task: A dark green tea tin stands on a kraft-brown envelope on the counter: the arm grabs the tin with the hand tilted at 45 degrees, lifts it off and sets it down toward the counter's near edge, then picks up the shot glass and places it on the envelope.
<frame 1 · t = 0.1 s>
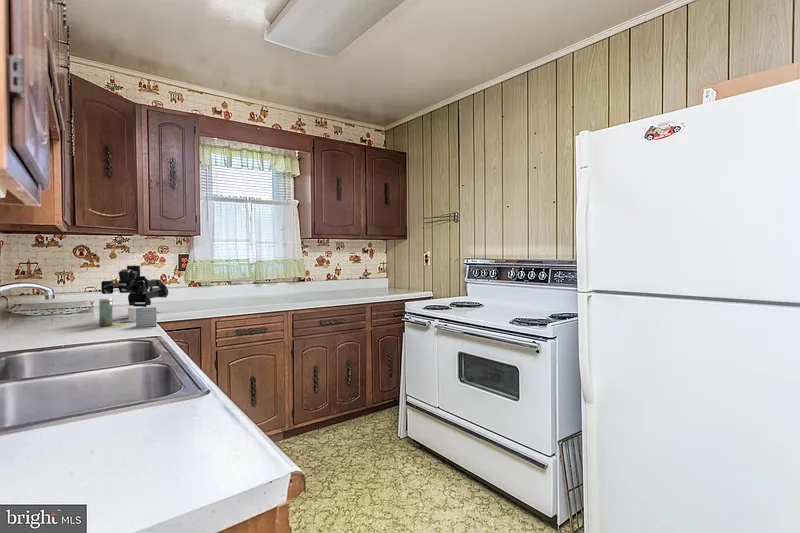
hand: (114, 288, 197), 17 cm above the counter, tool horizontal, fingers open, 9 cm apart
kraft envelope: (113, 326, 192), on the counter
tea tin: (105, 326, 190), resting on kraft envelope
medicine box: (146, 326, 192), on the counter
shot glass: (136, 321, 207), on the counter
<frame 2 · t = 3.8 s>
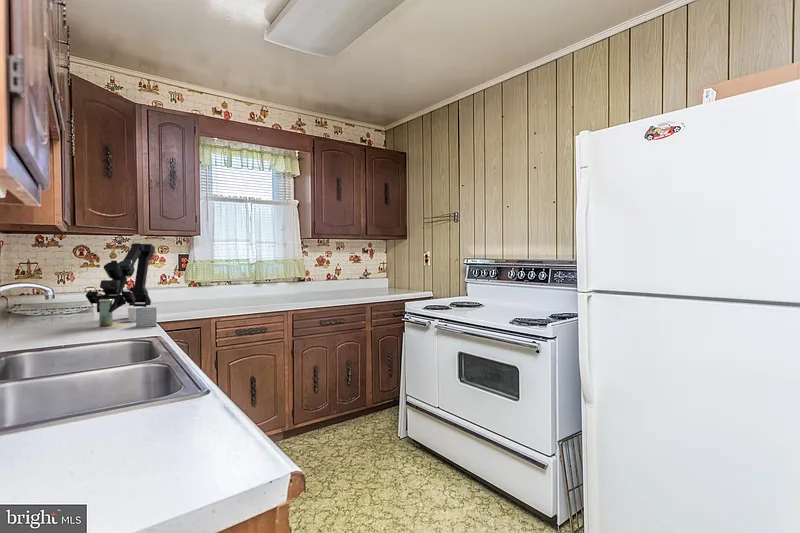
hand: (104, 311, 188), 7 cm above the counter, tool tilted 45°, fingers closed on tea tin, 5 cm apart
tea tin: (105, 326, 190), resting on kraft envelope, touching gripper
everything else where it was.
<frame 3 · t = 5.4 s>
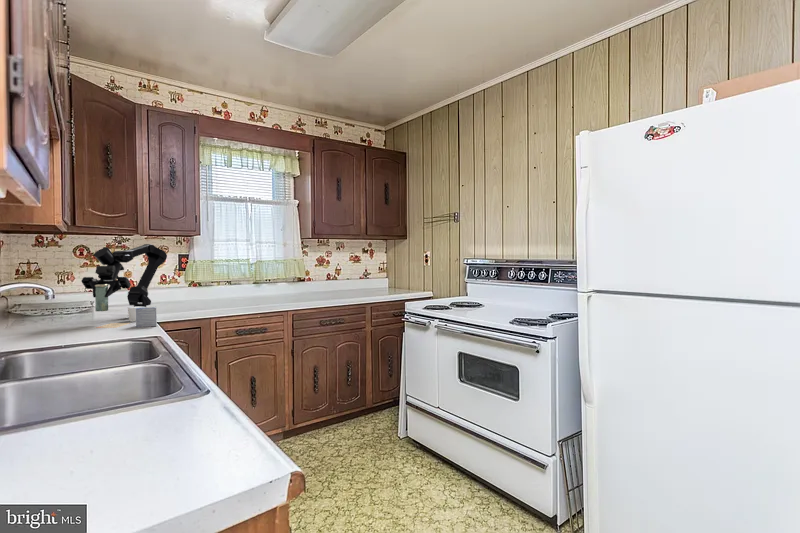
hand: (100, 296, 193), 13 cm above the counter, tool tilted 45°, fingers closed on tea tin, 5 cm apart
tea tin: (101, 310, 194), point 7 cm above the counter, touching gripper
everything else where it was.
when the fingers open (8 cm above the counter, at t = 7.5 s): tea tin drops 1 cm, on the counter.
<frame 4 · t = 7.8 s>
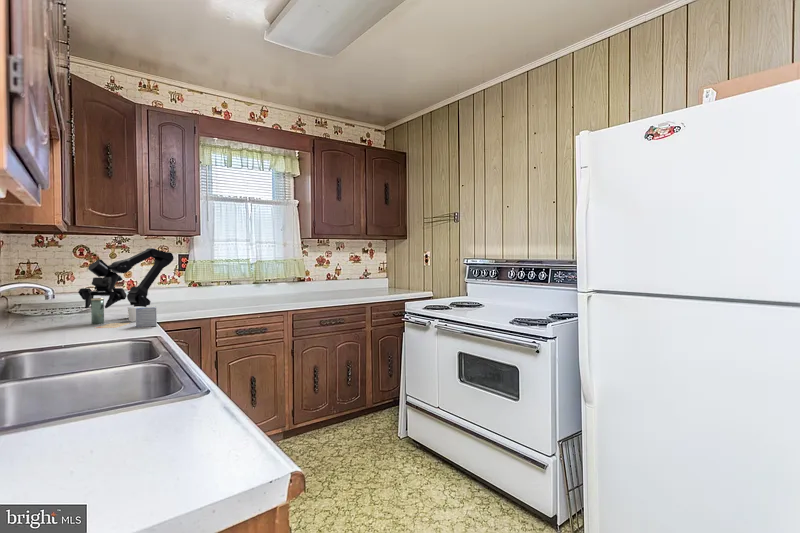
hand: (95, 307, 196), 8 cm above the counter, tool tilted 45°, fingers open, 8 cm apart
tea tin: (97, 324, 197), on the counter
everything else where it was.
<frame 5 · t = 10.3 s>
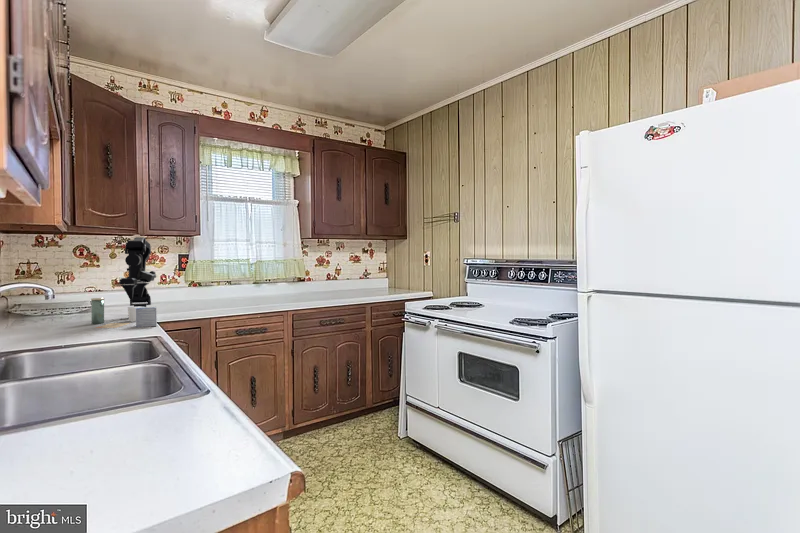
hand: (135, 298, 207), 11 cm above the counter, tool pointing down, fingers open, 9 cm apart
nothing on the counter moved.
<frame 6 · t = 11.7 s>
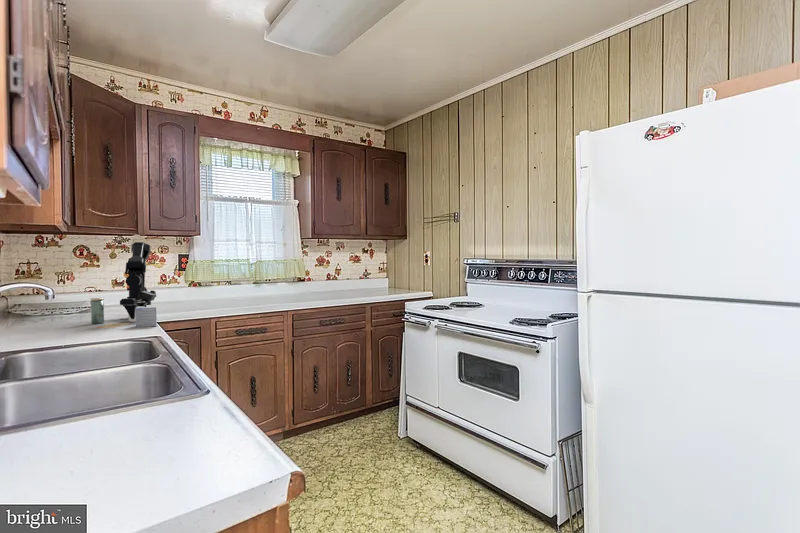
hand: (135, 317, 207), 2 cm above the counter, tool pointing down, fingers closed on shot glass, 6 cm apart
shot glass: (136, 321, 207), on the counter, touching gripper
everything else where it was.
when the fingers open (3 cm above the counter, at t = 16.3 s): shot glass stays where it is, resting on kraft envelope.
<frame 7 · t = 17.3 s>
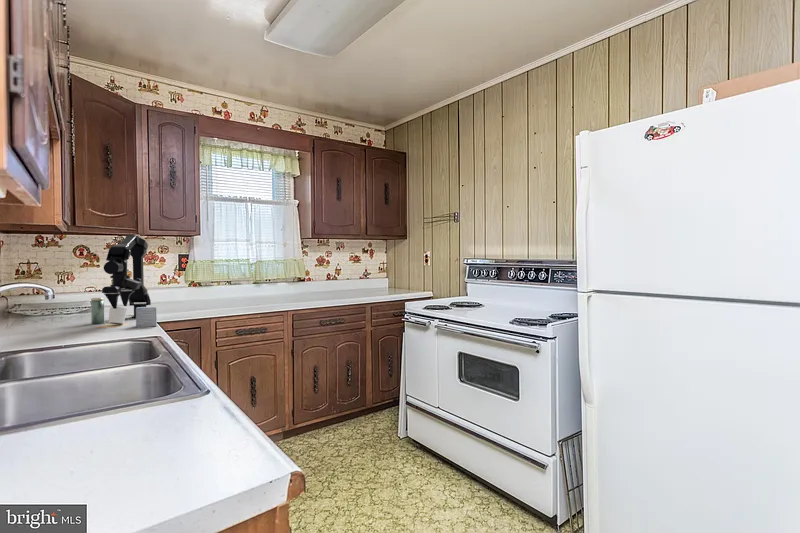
hand: (120, 307, 195), 8 cm above the counter, tool pointing down, fingers open, 9 cm apart
shot glass: (115, 323, 192), point 1 cm above the counter, touching kraft envelope
everything else where it was.
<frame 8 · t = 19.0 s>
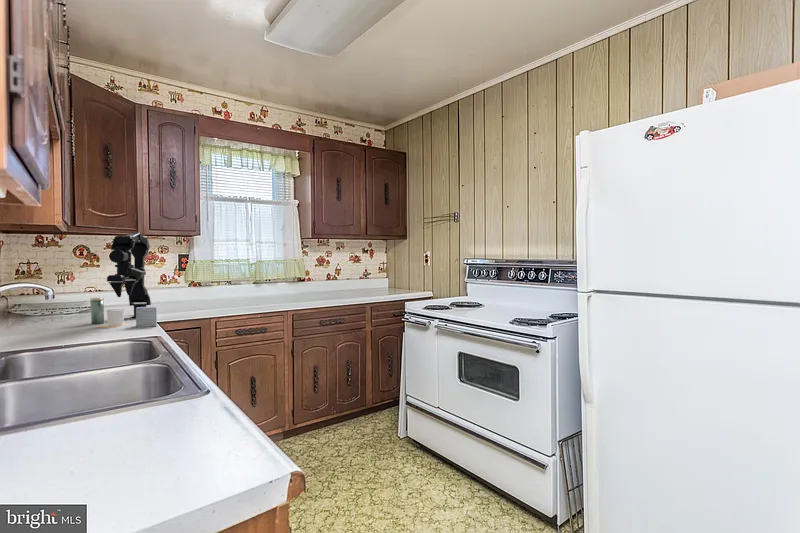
hand: (124, 296, 198), 13 cm above the counter, tool pointing down, fingers open, 9 cm apart
at the end: tea tin inside the target area (1.5 cm from its centre), on the counter; shot glass inside the target area on the kraft envelope (1.0 cm from its centre), point 0.1 cm above the kraft envelope's base; shot glass tilted 0° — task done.
